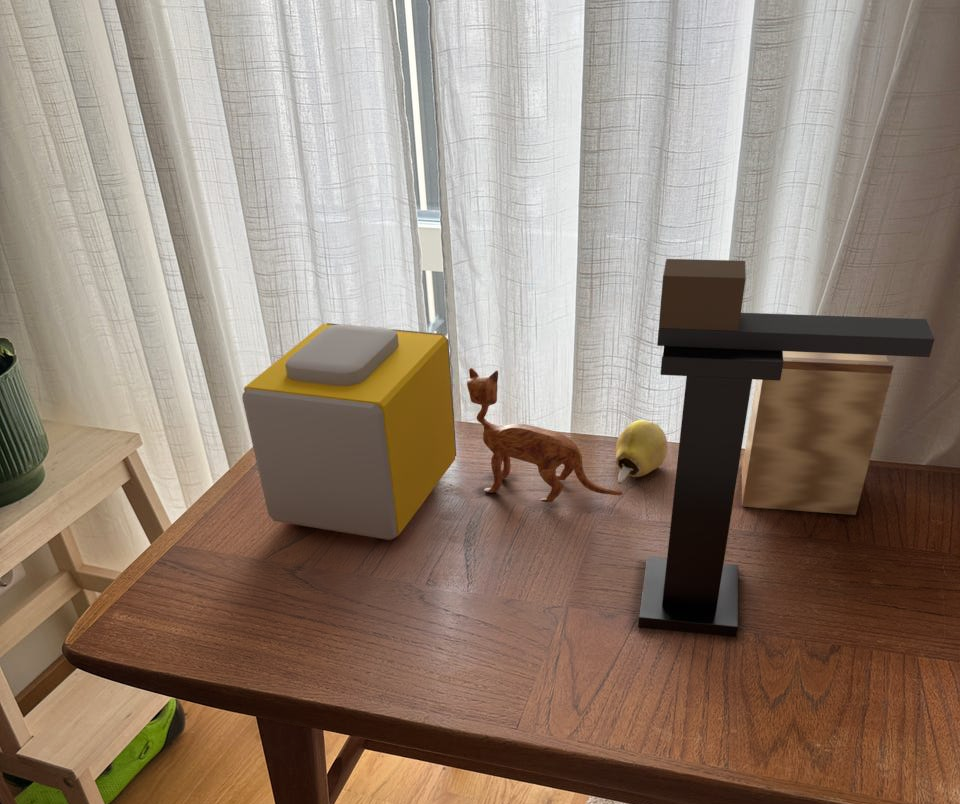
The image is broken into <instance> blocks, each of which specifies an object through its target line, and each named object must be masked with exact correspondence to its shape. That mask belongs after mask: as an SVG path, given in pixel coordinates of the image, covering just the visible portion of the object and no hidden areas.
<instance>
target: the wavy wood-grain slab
mask: <svg viewBox="0 0 960 804" xmlns="http://www.w3.org/2000/svg"><path fill="white" fill-rule="evenodd" d="M783 362H784V363H783V369H782V374H781V380H780V381H777V380H757V379H755V384H754V390H753V398H752V403H751V410H750V415H749V416H750V417H749V422H748V423H749V424H748V427H747V428H748V429H747V435H746V442H745V448H744V455H743V460H742V466H741V507H745V508H757V509H770V510H771V509H772V510H784V511H797V512H810V513H823V514H824V513H825V514H839V515H851V516H856V515H857V512H858V509H859V505H860V504H859V503H860V500H861V496H862V492H863V489H864V485H865V482H866V481H865V480H866V477H867V474H868V469H869V466H870V461H871V457H872V453H873V450H874V446H875V442H876V438H877V434H878V430H879V426H880V423H881V419H882V415H883V410H884V407H885V403H886V399H887V395H888V391H889V387H890V383H891V379H892V377H893V374H892V373H893V370H894V363H893V361H889V360H888V356H887V355H863V354H840V353H816V352H792V351H783Z"/></svg>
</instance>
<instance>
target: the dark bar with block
mask: <svg viewBox="0 0 960 804" xmlns="http://www.w3.org/2000/svg"><path fill="white" fill-rule="evenodd" d="M746 270H747V269H746V260H732V259H730V260H729V259H728V260H727V259H726V260H725V259H691V258H690V259H689V258H688V259H687V258H686V259H685V258H666V259H665V263H664V270H663V275H662V283H661V294H660V308H659V321H658V332H657V346H658V347H664V346H674V347H698V348H721V349H745V350H769V351H792V352H816V353H840V354H863V355H886V357H889V356H891V357H913V358H930V356H931V353H932V350H933V345H934V342H935V337H934V335H933V331H932V330H931V327H930V325H929V323H928V320H927V319H926V318H907V317H905V318H903V317H875V316H874V317H873V316H849V315H846V316H845V315H819V314H816V315H815V314H790V313H784V314H783V313H764V312H763V313H762V312H761V313H759V312H742V308H743V301H744V292H745V286H746V280H747V279H746V272H747V271H746Z"/></svg>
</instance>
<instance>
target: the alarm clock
mask: <svg viewBox="0 0 960 804" xmlns="http://www.w3.org/2000/svg"><path fill="white" fill-rule="evenodd" d="M449 340H450V339H448V338H447V337H446V335H444V334H443V333H439V332H428V331H427V332H426V331H416V330H407V329H406V330H405V329H395V328H388V327H379V326H371V325H370V326H369V325H358V324H349V323H348V324H347V323H346V324H345V323H330V322H327V323H326V324H324V323H322V324H321V325H319V326H318V327H317V328H316V329H314V330H313V331H312V332H311V333H310V334H308V335H306V337H304V338H303V339H302V340H301V341H300V342H298V343H297V344H296V345H294V347H292V348H290V350H288V351H287V352H286V353H285V354H284V355H282V356H281V357H280V358H279V359H277V360H276V361H275V362H274V363H272V364H271V365H269V367H267V368H266V369H265V370H264V371H262V372H261V373H260V374H259V375H258V376H257V377H255V378H254V379H253V380H251V381H250V382H249V383H248V384H247V385H245V386H244V387H243V391H244V392H243V393H242V397H241V399H242V403H243V407H244V413H245V417H246V423H247V426H248V430H249V434H250V439H251V443H252V444H251V445H252V447H253V452H254V457H255V460H256V465H257V470H258V475H259V479H260V483H261V488H262V493H263V497H264V501H265V506H266V511H267V514H268V516H269V517H270V518H271V519H272V520H273V522H278V523H285V524H289V525H290V524H291V525H297V526H303V527H309V528H315V529H321V530H327V531H331V532H339V533H344V534H352V535H357V536H362V537H363V536H364V537H369V538H374V539H375V538H376V539H381V540H386V541H387V540H388V541H390V540H393V539H395V538H397V537H398V536H400V535H401V533H402V532H403V531H404V529H405V528H406V526H408V524H409V523H410V521H411V520H412V518H413V517H414V516H415V514H416V513H417V512H418V510H419V509H420V507H421V506H422V505H423V504H424V502H425V501H426V500H427V498H428V497H429V495H430V494H431V493H432V492H433V490H434V488H435V487H436V486H437V485H438V483H439V482H440V481H441V479H442V478H443V476H444V475H445V474H446V472H447V471H448V470H449V469H450V467H451V466H452V464H453V463H454V462H455V461H456V457H457V442H456V441H457V440H456V430H455V429H456V427H455V425H456V424H455V412H454V411H455V409H454V397H453V396H454V395H453V383H452V382H453V381H452V368H451V367H452V366H451V355H450V353H451V352H450V341H449Z"/></svg>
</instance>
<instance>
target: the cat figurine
mask: <svg viewBox="0 0 960 804" xmlns="http://www.w3.org/2000/svg"><path fill="white" fill-rule="evenodd" d="M468 373H469V377H468V379H467V381H466V387H467V391H468V394H469V399H470V402H471V403H473V404H476V405H479V406H480V407H481V408H480V410H479V411H478V413H477V415H476V420H477V422H479V424H481V425H482V426H483V431H482V441H483V443H484V445H485V446H486V447H487V448H488V449H489V450H490V451H491V452H492V453H493V454H492V455H491V461H490V467H491V471H492V475H493V483H492V485H491V487H485V488H484V491H483V492H484V493H488V494H493V493H496V492H498V491H499V490H500V489H501V487H502V485H503V480H504V479H507V478H508V476H509V475H510V473H511V464H512V463H511V458H512V459H515V460H518V461H523V462H526V463H530V464H532V465H536V466H537V471H538V474H539V475H540V477H541V479H542V480H543V481H544V482H545V484H547V485H548V486H550V487H551V490H550V491H549V492H548V494H547V496H546V497H542V498H540V499H539V501H541V502H543V503H553V502H554V501H555V500H556V498H557V497H559V495H560V494H562V492H563V489H564V487H565V486H564V484H563V483H562V482H561V481H565V480H566V479H567V478H568V477H569V476H570V475H571V474H572V472H574V473H575V476H576V478H577V479H578V481H579V483H580V484H581V485H582V486H583V487H584V488H585V489H588V490H589V491H591V492H594V493H598V494H602V495H610V496H622V495H624V493H623V491H622V490H621V489H617V488H610V487H606V486H601V485H599V484H596V483H594V482H593V481H591V480H590V479H589V478H588V477H587V475H586V473H585V470H584V467H583V456H582V453H581V451H580V448H579V447H578V446H577V443H575V442H574V440H573V439H571V438H570V437H569V436H568V435H567V434H565V433H561V432H559V431H556V430H551V429H546V428H543V427H539V426H534V425H530V424H526V423H511V424H507V425H503V426H502V425H498V424H495V423H492V422H490V421H488V420H487V419H486V415H487V413H488V411H489V407H490V406H492V405H495V404H496V403H497V401H498V380H499V371H498V370H495V371H494V372H493V373H492V374H491V375H490V376H480V375H479V374H478V372H477V371H476V370H474V368H473V367H470V368H469V369H468ZM502 464H503V467H502ZM562 465H563V468H562V469H561V472H560V473H557V469H558V468H559V467H560V466H562Z"/></svg>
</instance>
